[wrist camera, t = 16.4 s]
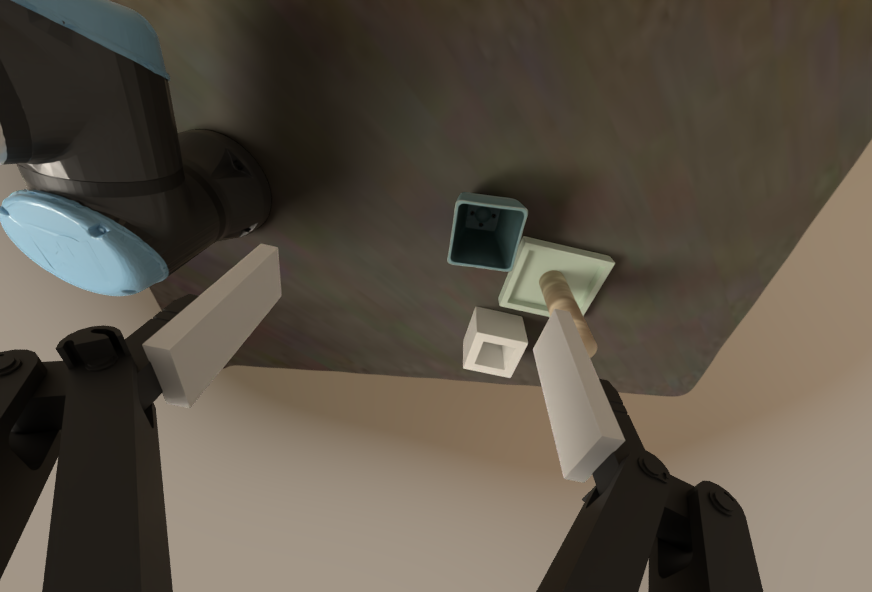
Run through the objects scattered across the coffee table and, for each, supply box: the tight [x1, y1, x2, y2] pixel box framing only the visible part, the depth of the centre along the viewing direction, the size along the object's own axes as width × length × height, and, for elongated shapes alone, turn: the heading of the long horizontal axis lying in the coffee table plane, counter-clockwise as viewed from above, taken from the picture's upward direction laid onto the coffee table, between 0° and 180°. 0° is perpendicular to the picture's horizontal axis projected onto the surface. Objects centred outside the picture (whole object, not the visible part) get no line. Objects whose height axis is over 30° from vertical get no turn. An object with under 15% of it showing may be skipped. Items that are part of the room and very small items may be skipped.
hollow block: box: [463, 306, 528, 378], centre depth 58 cm, size 9×9×7 cm
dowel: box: [539, 270, 597, 358], centre depth 47 cm, size 4×4×16 cm
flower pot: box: [447, 192, 528, 272], centre depth 45 cm, size 9×9×9 cm
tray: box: [498, 236, 615, 317], centre depth 53 cm, size 14×12×2 cm
